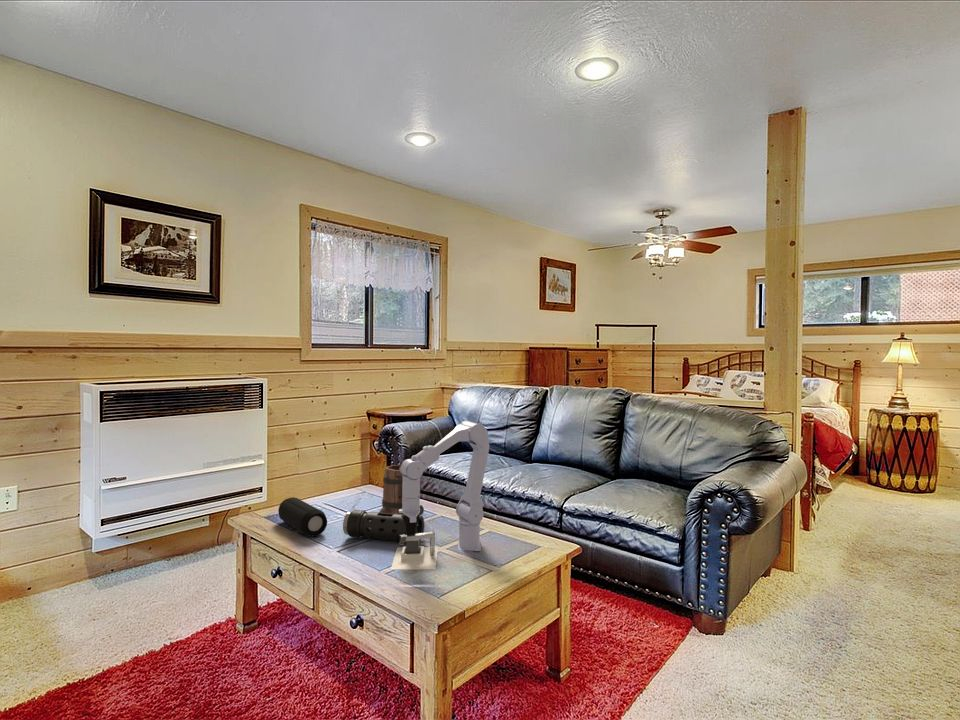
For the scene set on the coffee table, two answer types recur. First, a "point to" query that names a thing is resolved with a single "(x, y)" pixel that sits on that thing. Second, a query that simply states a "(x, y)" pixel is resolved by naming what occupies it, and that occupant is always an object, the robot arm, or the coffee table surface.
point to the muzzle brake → (377, 525)
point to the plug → (411, 546)
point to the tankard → (393, 491)
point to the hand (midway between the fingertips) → (410, 537)
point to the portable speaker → (302, 516)
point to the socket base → (414, 559)
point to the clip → (421, 536)
